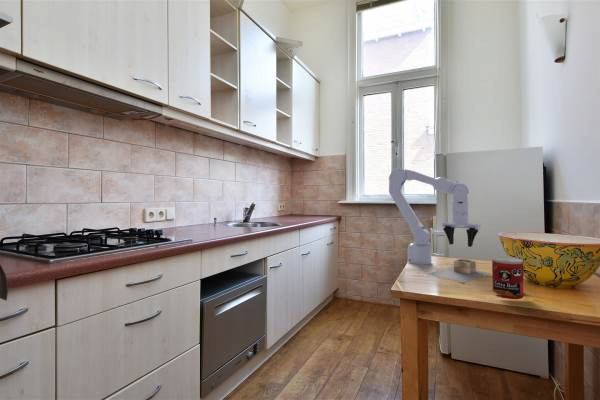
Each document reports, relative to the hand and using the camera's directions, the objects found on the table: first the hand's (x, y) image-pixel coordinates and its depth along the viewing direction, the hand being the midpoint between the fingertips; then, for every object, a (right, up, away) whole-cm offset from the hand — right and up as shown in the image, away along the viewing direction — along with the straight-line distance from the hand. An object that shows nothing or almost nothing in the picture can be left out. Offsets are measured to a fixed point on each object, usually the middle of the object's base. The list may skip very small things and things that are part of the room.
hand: (460, 245), depth 123 cm
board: (-8, -10, -13) cm, 18 cm away
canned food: (-4, -10, -34) cm, 35 cm away
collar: (-4, -8, -10) cm, 14 cm away
